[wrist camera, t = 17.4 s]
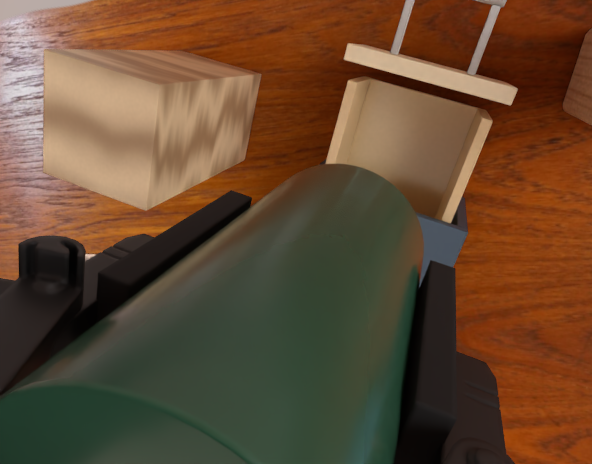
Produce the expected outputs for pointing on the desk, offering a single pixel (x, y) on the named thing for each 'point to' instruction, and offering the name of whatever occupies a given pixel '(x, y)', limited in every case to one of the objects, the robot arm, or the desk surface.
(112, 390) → the tin
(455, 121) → the drawer
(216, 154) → the stand
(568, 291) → the desk surface
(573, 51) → the desk surface
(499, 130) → the desk surface
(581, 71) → the decorative item
